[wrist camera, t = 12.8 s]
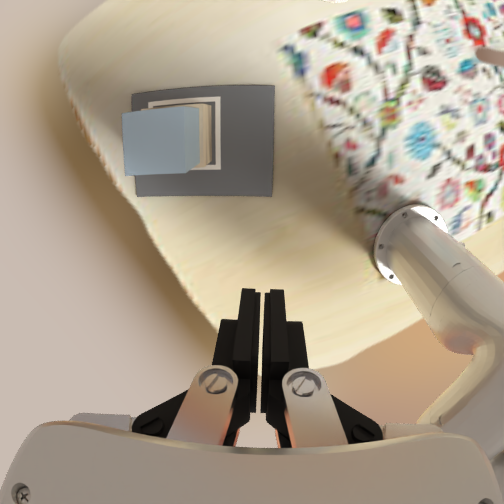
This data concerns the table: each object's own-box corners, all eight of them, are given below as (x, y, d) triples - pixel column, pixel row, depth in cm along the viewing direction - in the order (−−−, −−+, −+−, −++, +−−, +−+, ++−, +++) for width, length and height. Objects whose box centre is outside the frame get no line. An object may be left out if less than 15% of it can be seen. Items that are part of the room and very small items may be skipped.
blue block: (199, 108, 28) (184, 106, 22) (199, 162, 30) (185, 173, 25) (146, 112, 28) (121, 113, 23) (148, 165, 31) (125, 175, 25)
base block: (211, 105, 32) (203, 103, 28) (211, 160, 35) (203, 167, 31) (156, 109, 32) (141, 109, 28) (158, 162, 35) (143, 169, 31)
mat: (274, 86, 31) (274, 85, 31) (271, 195, 37) (271, 196, 37) (132, 94, 32) (131, 94, 31) (138, 195, 38) (136, 197, 37)
